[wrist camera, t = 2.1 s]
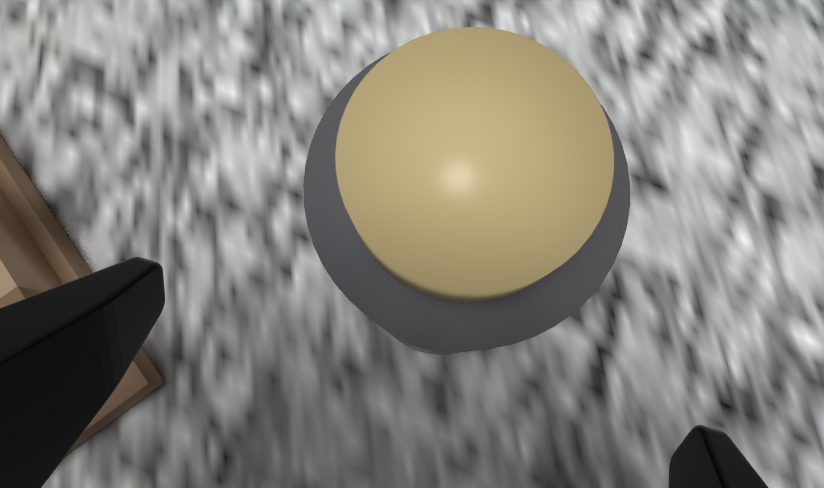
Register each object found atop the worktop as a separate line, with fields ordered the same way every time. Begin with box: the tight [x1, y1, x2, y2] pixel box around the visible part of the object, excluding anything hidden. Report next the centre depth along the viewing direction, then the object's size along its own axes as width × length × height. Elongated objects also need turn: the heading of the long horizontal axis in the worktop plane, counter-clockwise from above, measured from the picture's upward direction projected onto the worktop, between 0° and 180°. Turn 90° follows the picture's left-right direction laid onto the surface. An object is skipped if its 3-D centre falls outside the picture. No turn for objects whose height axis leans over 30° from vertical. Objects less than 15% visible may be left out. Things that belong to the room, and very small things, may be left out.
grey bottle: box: [304, 27, 630, 354], centre depth 13 cm, size 4×4×13 cm
